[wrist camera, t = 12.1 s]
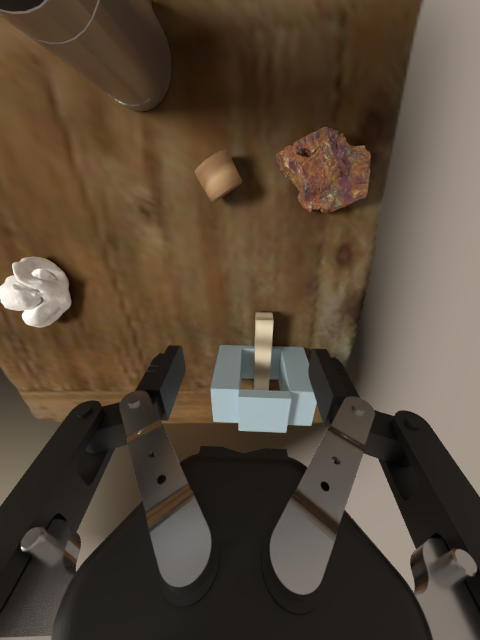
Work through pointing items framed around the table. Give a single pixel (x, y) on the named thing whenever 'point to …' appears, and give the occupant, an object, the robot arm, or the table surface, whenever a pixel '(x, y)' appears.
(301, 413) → the light blue notched block
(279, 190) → the table surface
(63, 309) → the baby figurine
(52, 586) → the robot arm
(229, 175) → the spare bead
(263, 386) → the long cream stick
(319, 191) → the mineral specimen
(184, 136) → the table surface
